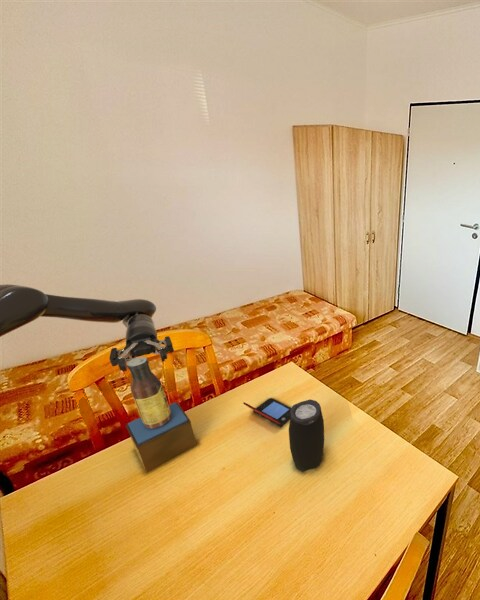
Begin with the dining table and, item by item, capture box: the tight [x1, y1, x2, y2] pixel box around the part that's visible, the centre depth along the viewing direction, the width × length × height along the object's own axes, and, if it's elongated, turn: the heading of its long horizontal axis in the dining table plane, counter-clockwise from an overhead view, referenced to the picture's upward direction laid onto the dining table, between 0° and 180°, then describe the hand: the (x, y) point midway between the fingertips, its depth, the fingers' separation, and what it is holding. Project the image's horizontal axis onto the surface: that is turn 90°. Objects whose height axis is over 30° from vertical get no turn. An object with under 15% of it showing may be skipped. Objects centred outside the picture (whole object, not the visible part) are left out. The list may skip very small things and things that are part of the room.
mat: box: [127, 402, 188, 445], centre depth 87 cm, size 11×9×1 cm
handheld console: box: [242, 397, 292, 428], centre depth 103 cm, size 12×11×7 cm
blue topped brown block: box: [125, 402, 197, 473], centre depth 89 cm, size 12×10×10 cm
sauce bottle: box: [127, 356, 171, 429], centre depth 82 cm, size 7×6×20 cm
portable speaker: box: [288, 398, 325, 473], centre depth 87 cm, size 9×9×20 cm
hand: (144, 363), depth 87 cm, fingers open, 8 cm apart
